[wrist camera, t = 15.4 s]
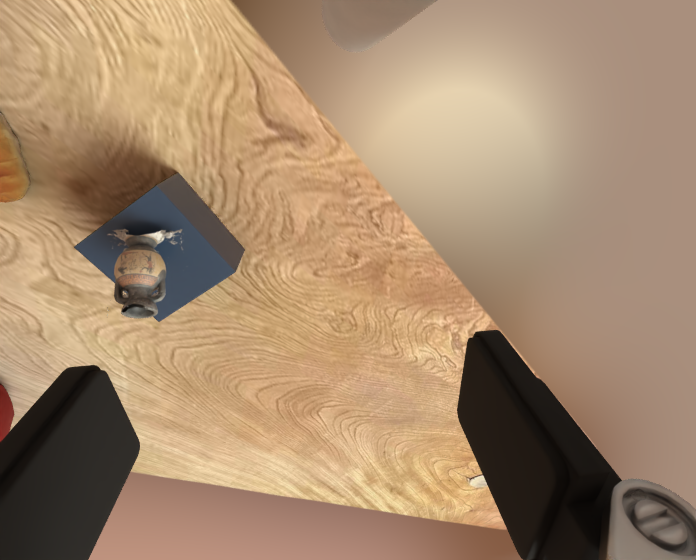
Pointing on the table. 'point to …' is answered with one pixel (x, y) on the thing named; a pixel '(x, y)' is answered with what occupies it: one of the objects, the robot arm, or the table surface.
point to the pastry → (11, 166)
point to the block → (181, 265)
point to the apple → (5, 413)
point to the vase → (140, 273)
